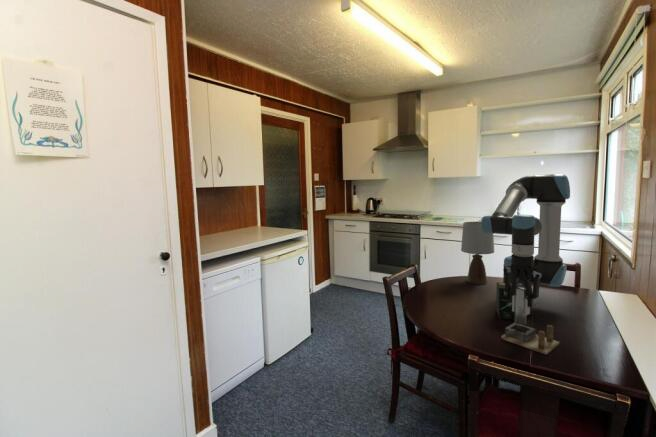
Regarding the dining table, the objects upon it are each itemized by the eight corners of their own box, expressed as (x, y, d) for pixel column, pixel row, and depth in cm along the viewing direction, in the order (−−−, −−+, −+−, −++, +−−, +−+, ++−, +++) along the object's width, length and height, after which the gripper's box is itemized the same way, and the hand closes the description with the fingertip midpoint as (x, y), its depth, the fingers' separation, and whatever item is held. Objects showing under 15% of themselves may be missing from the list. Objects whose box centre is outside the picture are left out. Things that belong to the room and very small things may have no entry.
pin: (512, 322, 130) (513, 288, 128) (517, 319, 132) (518, 286, 131) (523, 325, 127) (524, 290, 125) (528, 322, 129) (529, 288, 127)
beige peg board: (501, 338, 130) (501, 321, 129) (515, 329, 137) (515, 313, 136) (546, 354, 117) (547, 336, 117) (559, 344, 124) (560, 326, 124)
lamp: (500, 284, 197) (502, 223, 193) (475, 288, 191) (476, 226, 187) (478, 276, 214) (478, 220, 210) (454, 279, 209) (454, 222, 205)
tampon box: (521, 313, 154) (522, 283, 152) (526, 321, 145) (527, 289, 144) (495, 311, 157) (496, 281, 156) (498, 318, 149) (499, 287, 147)
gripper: (495, 252, 131) (494, 308, 134) (542, 259, 117) (540, 321, 120) (504, 250, 136) (503, 304, 138) (551, 256, 122) (549, 316, 124)
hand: (520, 312), depth 129 cm, fingers closed on pin, 4 cm apart
